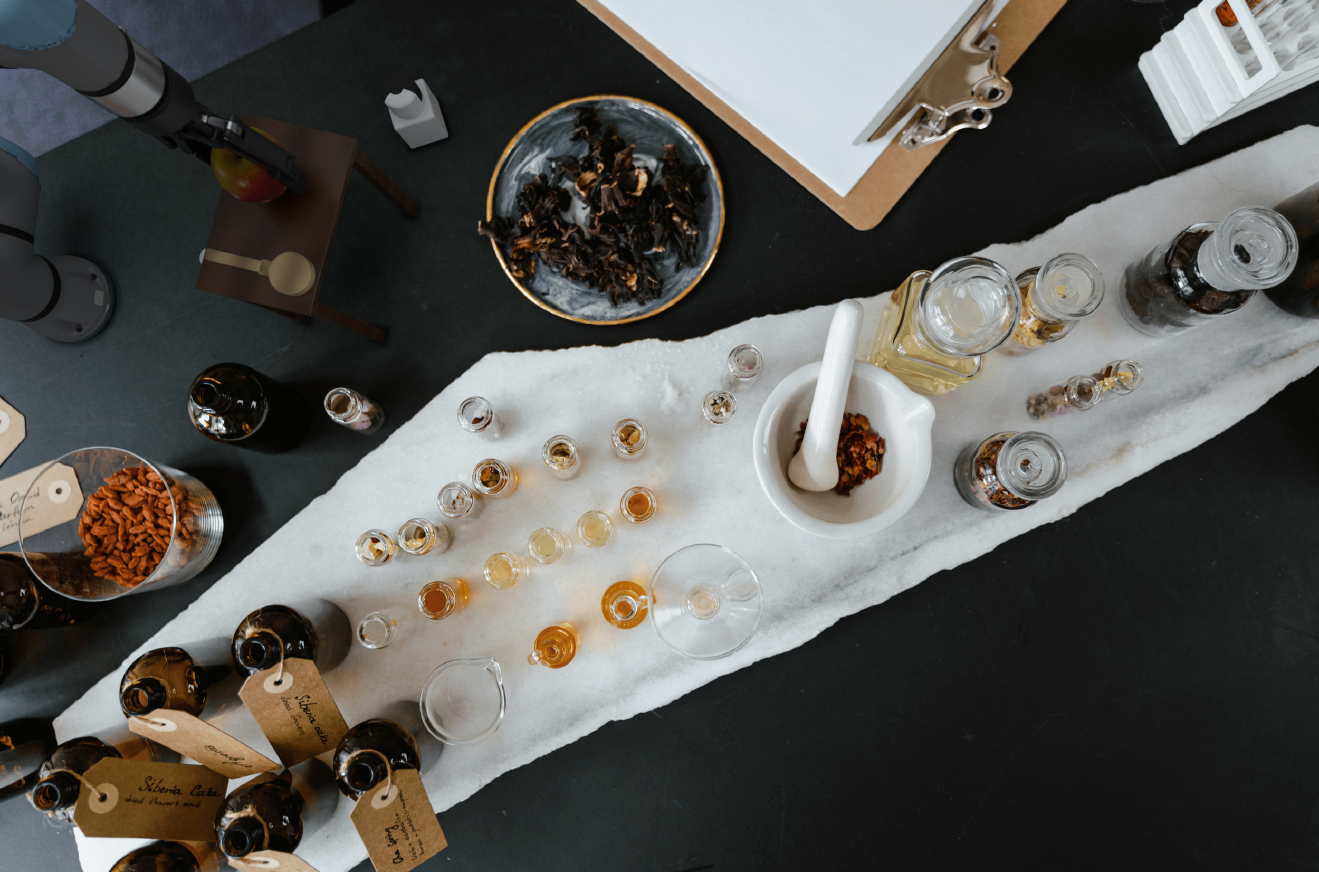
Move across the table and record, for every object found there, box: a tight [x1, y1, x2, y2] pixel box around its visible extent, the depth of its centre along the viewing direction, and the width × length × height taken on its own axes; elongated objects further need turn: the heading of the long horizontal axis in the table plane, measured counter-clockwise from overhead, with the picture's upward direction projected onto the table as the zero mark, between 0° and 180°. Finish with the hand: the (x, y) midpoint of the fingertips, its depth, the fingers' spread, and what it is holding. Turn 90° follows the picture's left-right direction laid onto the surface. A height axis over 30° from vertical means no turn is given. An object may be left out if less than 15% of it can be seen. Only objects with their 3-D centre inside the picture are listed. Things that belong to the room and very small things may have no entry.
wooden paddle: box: [205, 248, 315, 297], centre depth 93 cm, size 16×6×1 cm, turn 76°
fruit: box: [210, 127, 287, 203], centre depth 88 cm, size 10×9×8 cm
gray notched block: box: [379, 71, 449, 150], centre depth 112 cm, size 7×7×12 cm
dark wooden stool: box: [194, 112, 419, 343], centre depth 106 cm, size 17×26×24 cm, turn 166°
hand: (268, 177), depth 91 cm, fingers closed on fruit, 9 cm apart
